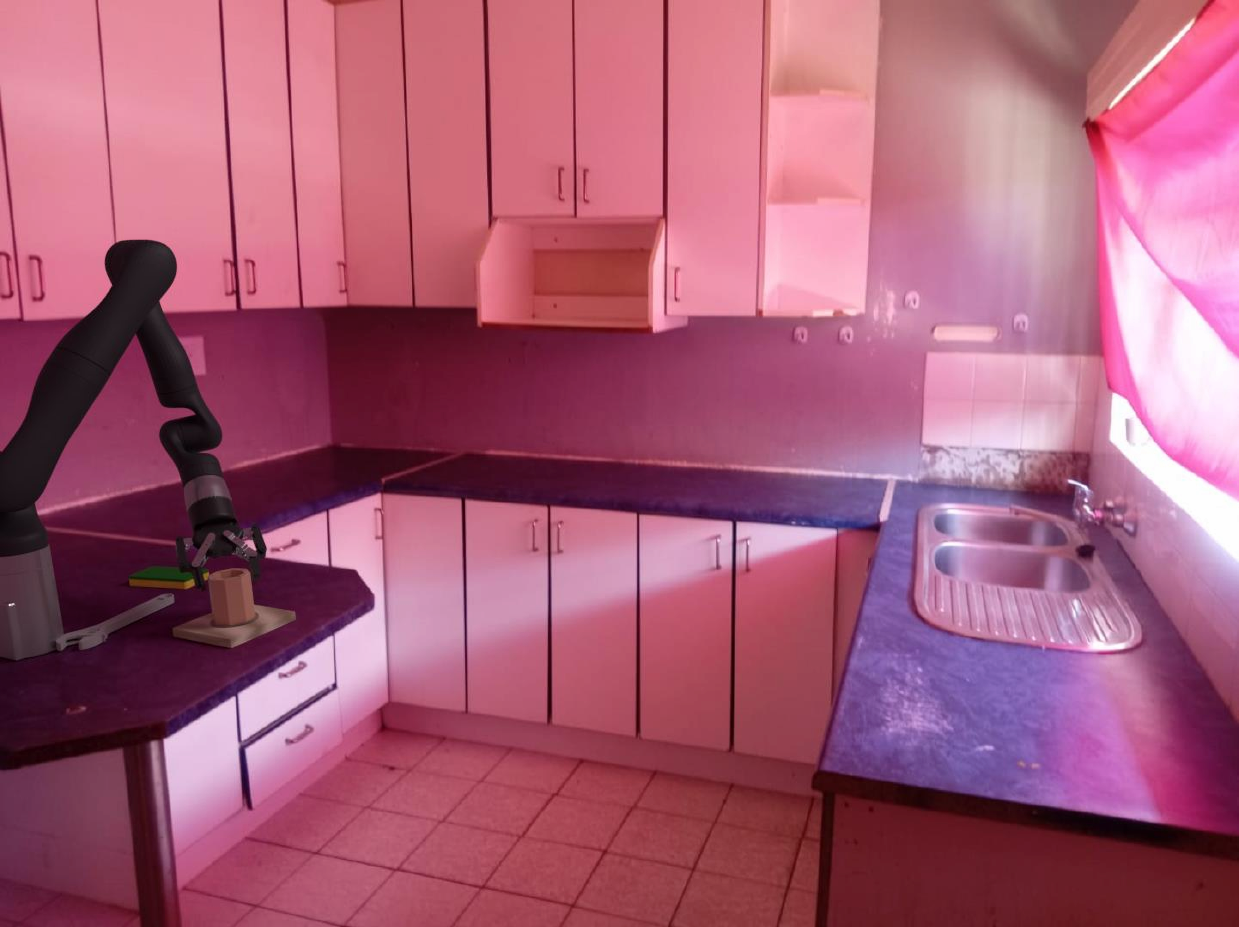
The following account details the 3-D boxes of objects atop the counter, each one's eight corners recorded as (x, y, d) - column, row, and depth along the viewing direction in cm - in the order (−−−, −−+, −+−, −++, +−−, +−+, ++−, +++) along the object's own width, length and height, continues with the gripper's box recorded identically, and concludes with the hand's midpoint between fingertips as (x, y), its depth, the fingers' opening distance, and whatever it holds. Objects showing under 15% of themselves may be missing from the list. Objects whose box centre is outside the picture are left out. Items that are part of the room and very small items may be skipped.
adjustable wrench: (165, 600, 182) (164, 591, 182) (192, 604, 180) (192, 595, 180) (49, 649, 159) (48, 639, 159) (79, 654, 157) (78, 644, 157)
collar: (218, 628, 161) (212, 582, 160) (211, 617, 167) (205, 573, 165) (257, 619, 165) (252, 574, 163) (249, 609, 170) (244, 566, 168)
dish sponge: (154, 576, 200) (152, 565, 199) (210, 580, 196) (209, 568, 195) (128, 587, 193) (127, 575, 192) (186, 591, 189) (185, 579, 189)
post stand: (231, 648, 157) (224, 595, 155) (173, 636, 163) (166, 585, 161) (295, 619, 169) (290, 570, 167) (239, 609, 175) (233, 562, 174)
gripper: (166, 501, 165) (185, 581, 158) (253, 488, 172) (275, 564, 165) (166, 525, 171) (184, 603, 163) (250, 511, 178) (271, 586, 171)
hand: (230, 583), depth 164 cm, fingers open, 8 cm apart
